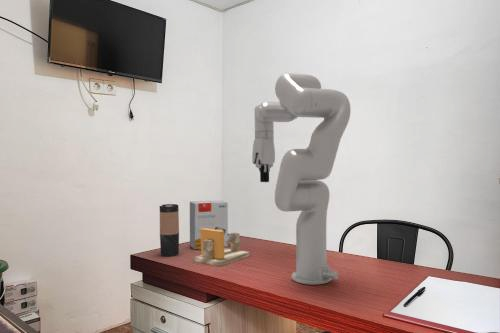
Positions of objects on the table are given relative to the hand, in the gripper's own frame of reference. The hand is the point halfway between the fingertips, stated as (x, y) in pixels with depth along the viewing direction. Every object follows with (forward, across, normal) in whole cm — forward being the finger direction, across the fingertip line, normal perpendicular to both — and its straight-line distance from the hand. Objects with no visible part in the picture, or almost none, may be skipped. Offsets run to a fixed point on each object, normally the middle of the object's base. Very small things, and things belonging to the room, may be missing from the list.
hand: (264, 181), depth 155 cm
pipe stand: (+29, +15, -10) cm, 34 cm away
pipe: (+23, +15, -10) cm, 30 cm away
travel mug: (+29, +22, -32) cm, 49 cm away
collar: (+27, +21, -10) cm, 35 cm away
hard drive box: (+29, +3, -28) cm, 41 cm away
